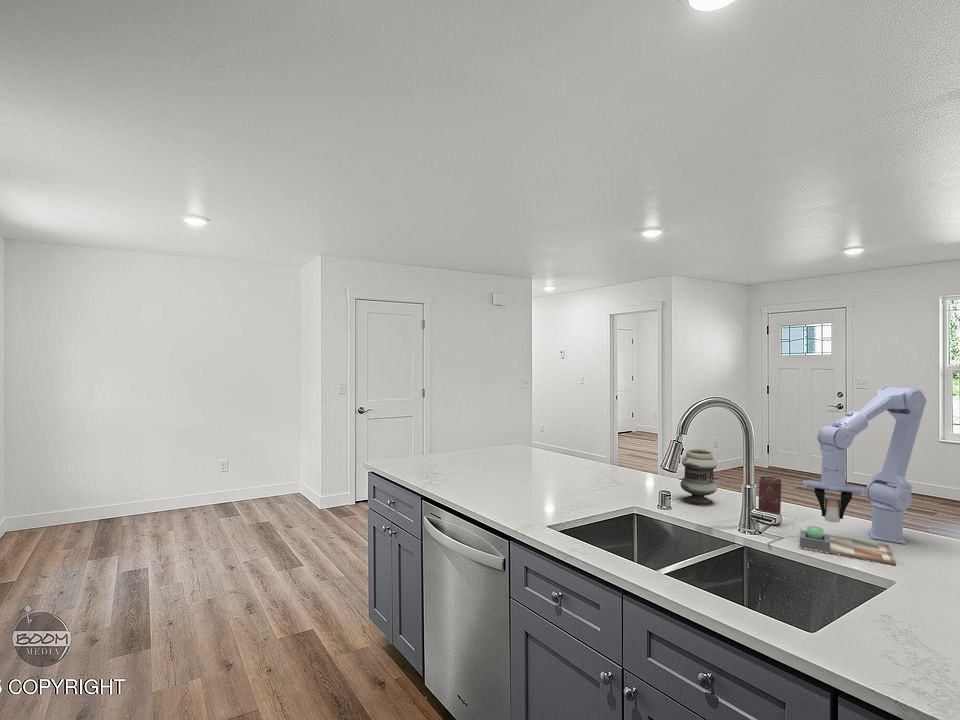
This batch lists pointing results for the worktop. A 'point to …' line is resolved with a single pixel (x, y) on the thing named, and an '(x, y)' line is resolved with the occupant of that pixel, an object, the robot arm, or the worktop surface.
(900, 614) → the worktop surface
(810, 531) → the button
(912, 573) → the worktop surface
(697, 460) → the apothecary jar
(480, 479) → the worktop surface
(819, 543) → the button housing
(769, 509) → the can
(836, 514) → the marker
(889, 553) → the board
